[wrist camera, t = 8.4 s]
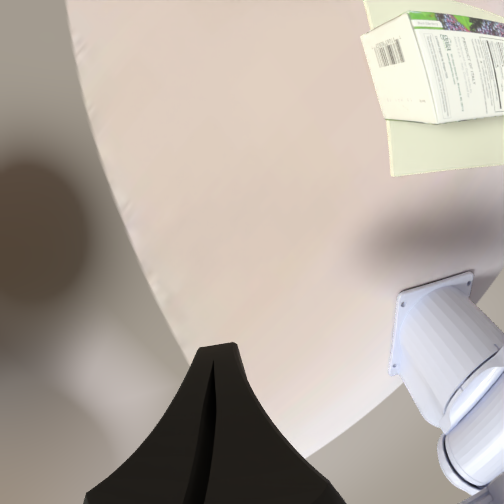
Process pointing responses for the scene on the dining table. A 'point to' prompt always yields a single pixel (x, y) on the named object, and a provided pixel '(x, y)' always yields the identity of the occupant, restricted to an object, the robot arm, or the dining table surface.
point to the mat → (443, 135)
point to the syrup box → (437, 67)
